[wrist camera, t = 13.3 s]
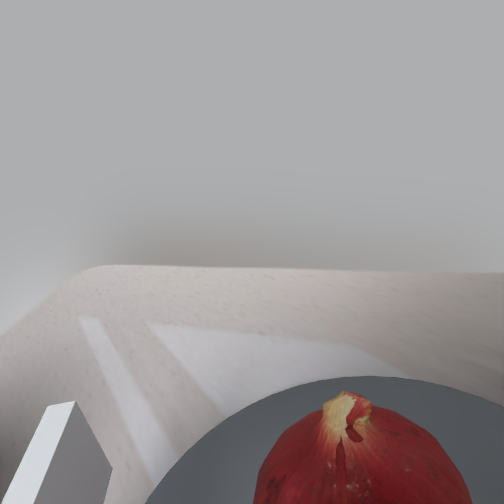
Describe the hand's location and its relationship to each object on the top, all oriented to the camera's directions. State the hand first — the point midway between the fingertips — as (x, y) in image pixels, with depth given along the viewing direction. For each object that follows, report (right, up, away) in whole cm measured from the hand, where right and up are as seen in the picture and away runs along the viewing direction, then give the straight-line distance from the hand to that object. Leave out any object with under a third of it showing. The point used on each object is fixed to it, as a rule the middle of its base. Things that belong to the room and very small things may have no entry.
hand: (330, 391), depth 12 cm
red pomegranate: (+2, -7, +2) cm, 7 cm away
